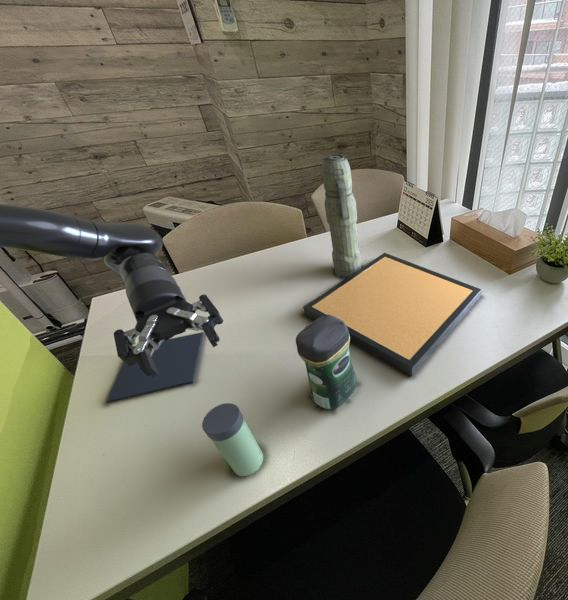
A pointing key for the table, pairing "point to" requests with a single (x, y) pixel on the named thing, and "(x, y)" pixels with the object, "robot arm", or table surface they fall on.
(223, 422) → the canister
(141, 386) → the mat
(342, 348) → the coffee jar
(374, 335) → the cork board
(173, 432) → the table surface
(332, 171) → the thermos
